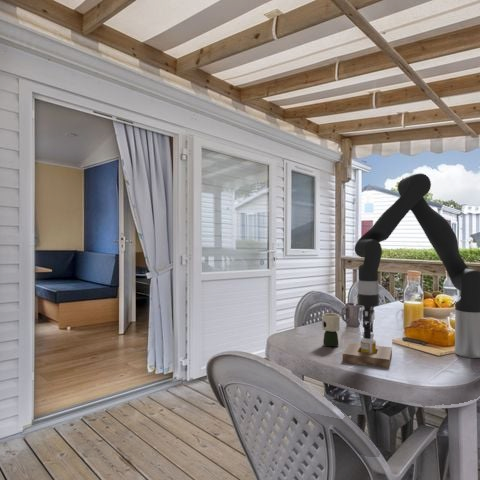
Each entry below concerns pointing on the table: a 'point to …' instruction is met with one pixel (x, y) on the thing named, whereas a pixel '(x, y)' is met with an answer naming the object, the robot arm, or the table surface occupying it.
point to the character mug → (330, 328)
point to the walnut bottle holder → (368, 356)
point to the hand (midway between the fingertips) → (368, 335)
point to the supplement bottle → (368, 344)
